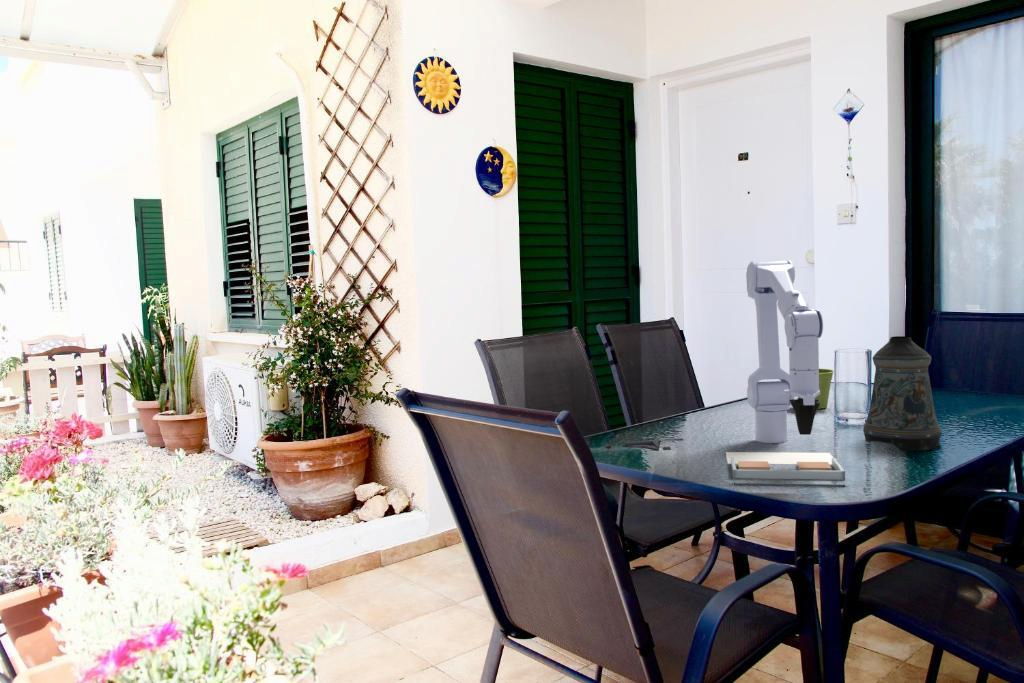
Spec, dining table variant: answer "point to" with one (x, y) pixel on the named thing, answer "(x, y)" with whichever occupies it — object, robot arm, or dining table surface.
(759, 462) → the terracotta tile
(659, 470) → the dining table surface
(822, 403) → the plant pot
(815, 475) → the tray
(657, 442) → the bracket
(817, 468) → the terracotta tile
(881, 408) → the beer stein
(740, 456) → the cream plate
